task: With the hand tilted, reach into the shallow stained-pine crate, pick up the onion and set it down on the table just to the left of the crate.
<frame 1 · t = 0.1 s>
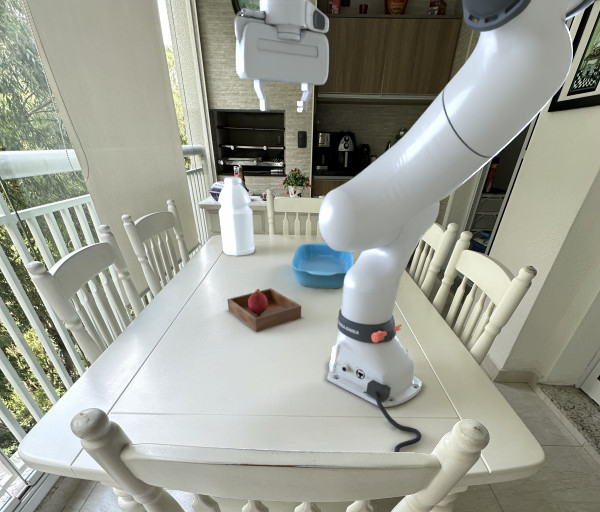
hand: (284, 111, 74), 48 cm above the table, tool pointing down, fingers open, 8 cm apart
bottle: (239, 251, 157), on the table
casserole dish: (322, 275, 135), on the table
crate: (264, 314, 107), on the table
onion: (258, 315, 106), resting on crate
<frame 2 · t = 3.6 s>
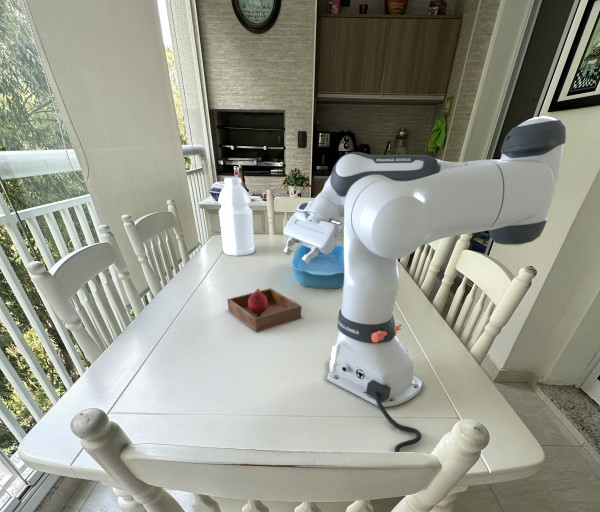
hand: (295, 257, 103), 15 cm above the table, tool tilted 45°, fingers open, 8 cm apart
nothing on the table moved.
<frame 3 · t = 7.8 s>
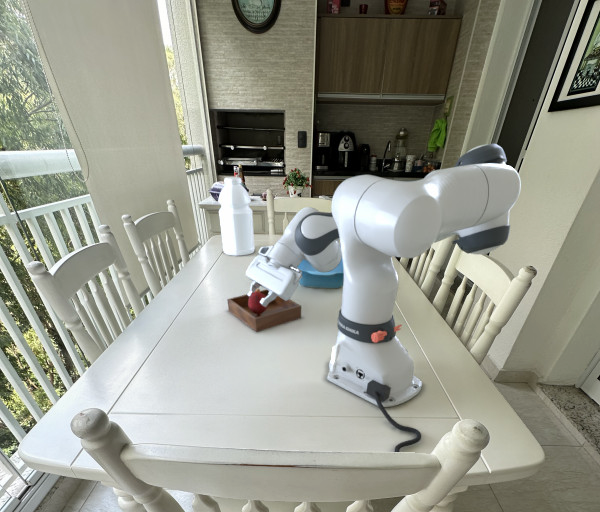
hand: (255, 301, 103), 5 cm above the table, tool tilted 45°, fingers closed on onion, 5 cm apart
onion: (258, 315, 106), resting on crate, touching gripper
everything else where it was.
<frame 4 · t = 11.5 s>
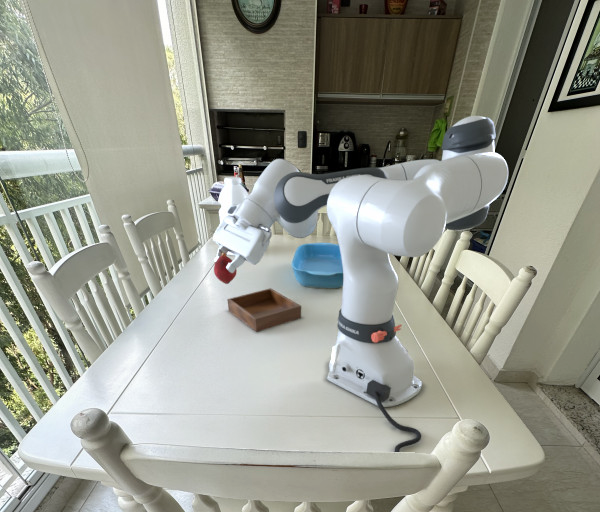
hand: (222, 267, 91), 16 cm above the table, tool tilted 45°, fingers closed on onion, 5 cm apart
onion: (226, 284, 95), point 12 cm above the table, touching gripper
everything else where it was.
when the fingers open (4 cm above the table, at t = 15.7 s): onion stays where it is, on the table.
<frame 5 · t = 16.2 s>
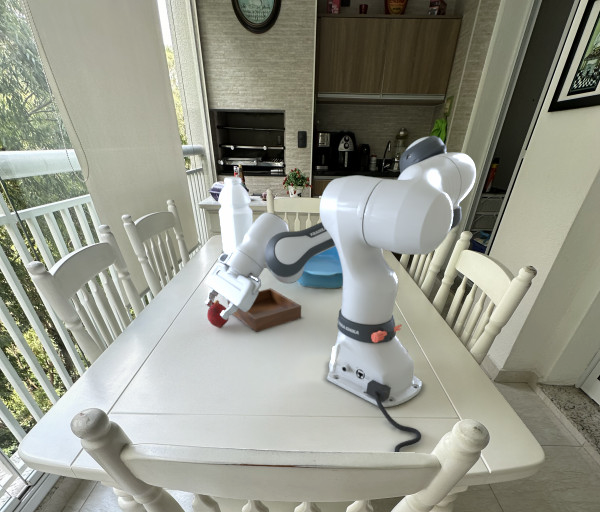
hand: (214, 311, 97), 5 cm above the table, tool tilted 45°, fingers open, 8 cm apart
onion: (219, 328, 100), on the table
everything else where it was.
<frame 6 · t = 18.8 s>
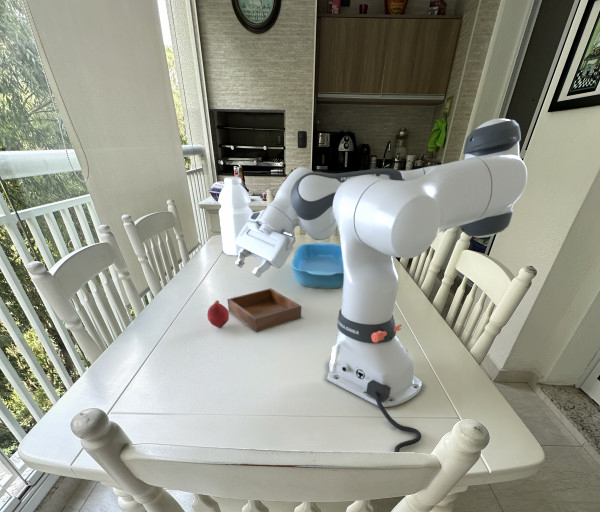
hand: (246, 270, 96), 14 cm above the table, tool tilted 45°, fingers open, 8 cm apart
nothing on the table moved.
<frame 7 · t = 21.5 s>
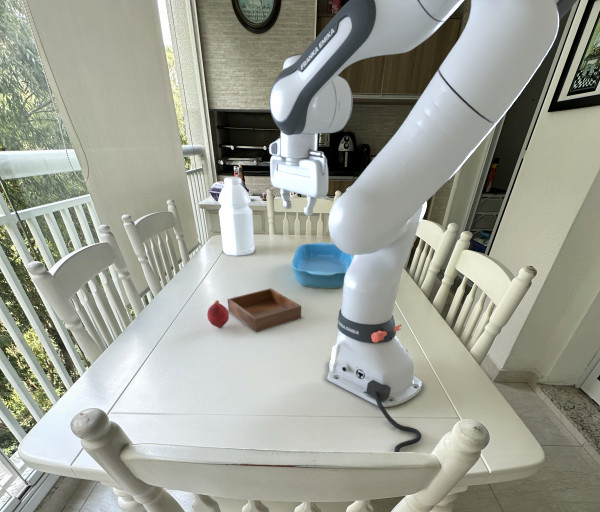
hand: (297, 211, 94), 27 cm above the table, tool pointing down, fingers open, 8 cm apart
nothing on the table moved.
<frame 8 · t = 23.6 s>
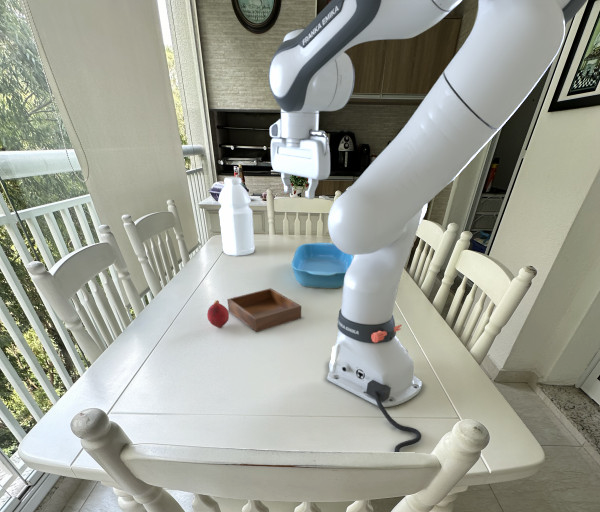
hand: (298, 195, 92), 31 cm above the table, tool pointing down, fingers open, 8 cm apart
nothing on the table moved.
at the end: onion inside the target area (0.3 cm from its centre), on the table; onion touching table; the gripper is holding nothing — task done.
